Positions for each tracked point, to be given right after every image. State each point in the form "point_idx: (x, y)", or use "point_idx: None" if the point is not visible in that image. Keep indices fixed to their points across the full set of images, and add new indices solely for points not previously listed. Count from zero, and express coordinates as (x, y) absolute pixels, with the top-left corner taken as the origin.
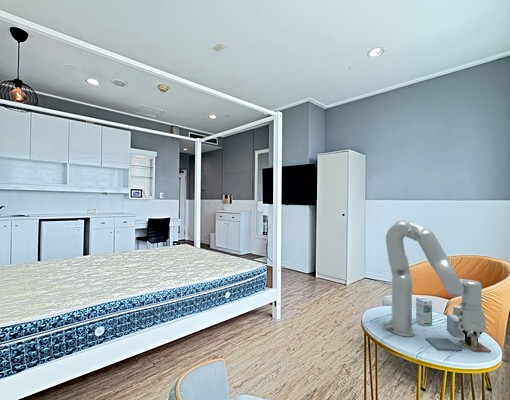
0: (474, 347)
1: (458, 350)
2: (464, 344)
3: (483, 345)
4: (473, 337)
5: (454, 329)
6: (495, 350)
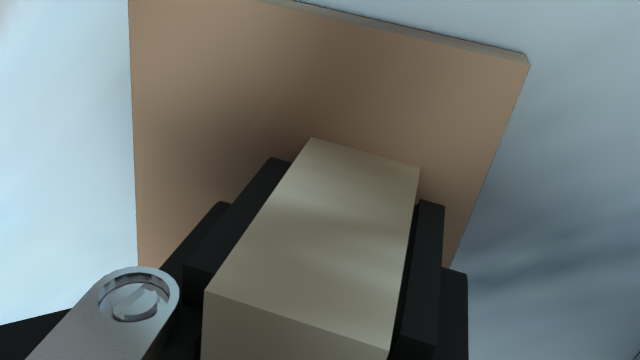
0: (393, 131)
1: None
2: None
3: (135, 154)
4: (341, 300)
5: None
6: (21, 23)
